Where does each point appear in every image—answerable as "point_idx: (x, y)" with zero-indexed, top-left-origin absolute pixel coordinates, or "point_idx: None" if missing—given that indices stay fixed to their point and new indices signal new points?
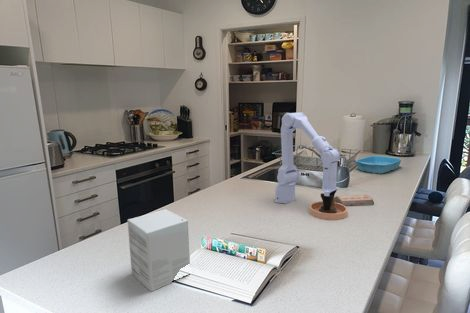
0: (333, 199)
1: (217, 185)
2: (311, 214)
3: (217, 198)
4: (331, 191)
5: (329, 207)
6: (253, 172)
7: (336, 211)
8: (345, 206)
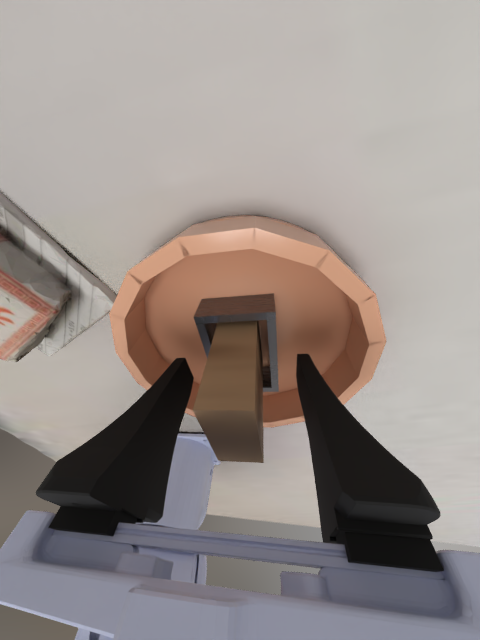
0: (255, 412)
1: None
2: None
3: (263, 508)
4: (416, 638)
5: (317, 373)
6: None
7: (245, 307)
8: (138, 268)
